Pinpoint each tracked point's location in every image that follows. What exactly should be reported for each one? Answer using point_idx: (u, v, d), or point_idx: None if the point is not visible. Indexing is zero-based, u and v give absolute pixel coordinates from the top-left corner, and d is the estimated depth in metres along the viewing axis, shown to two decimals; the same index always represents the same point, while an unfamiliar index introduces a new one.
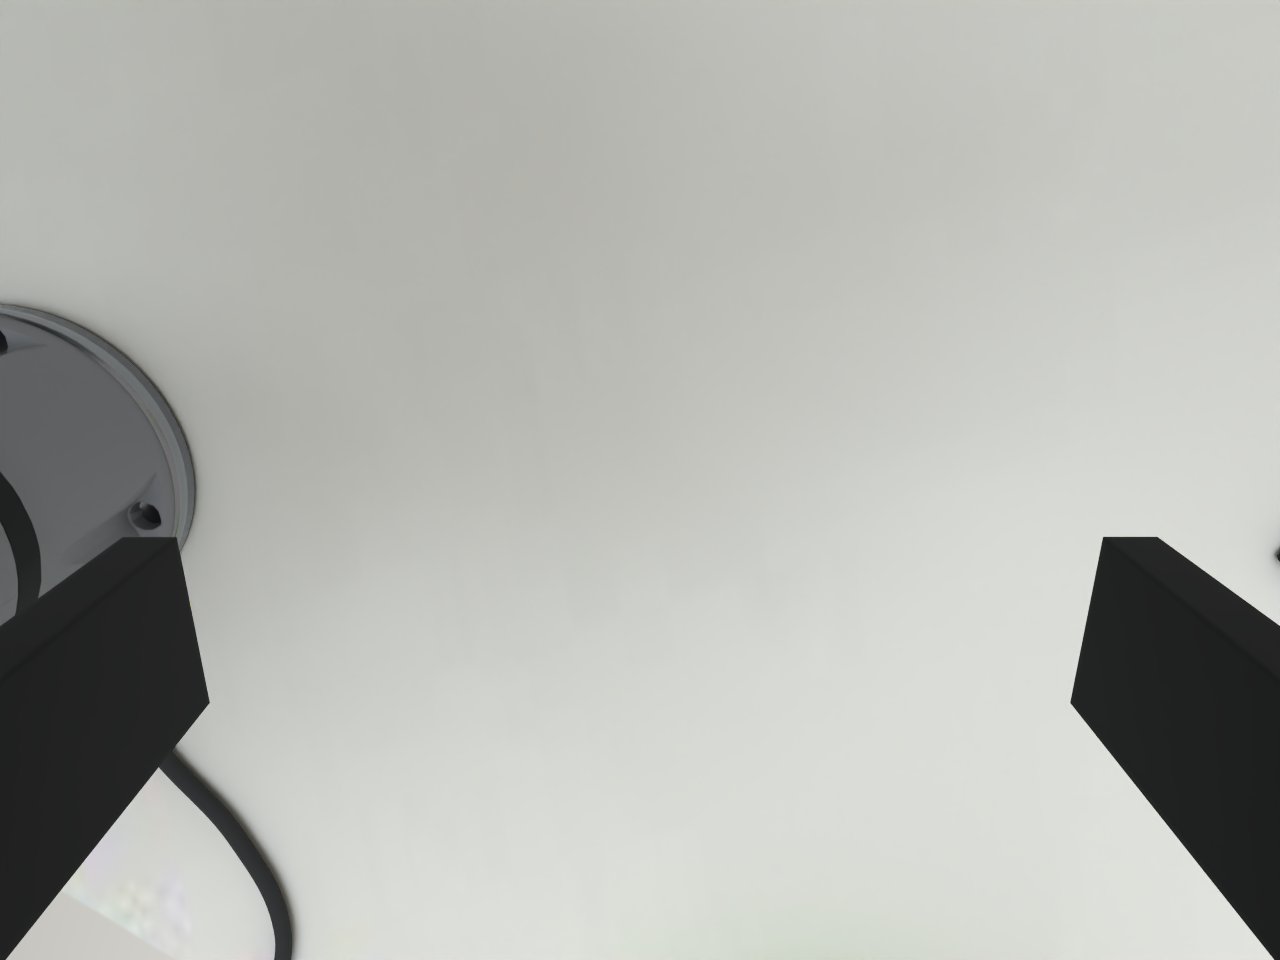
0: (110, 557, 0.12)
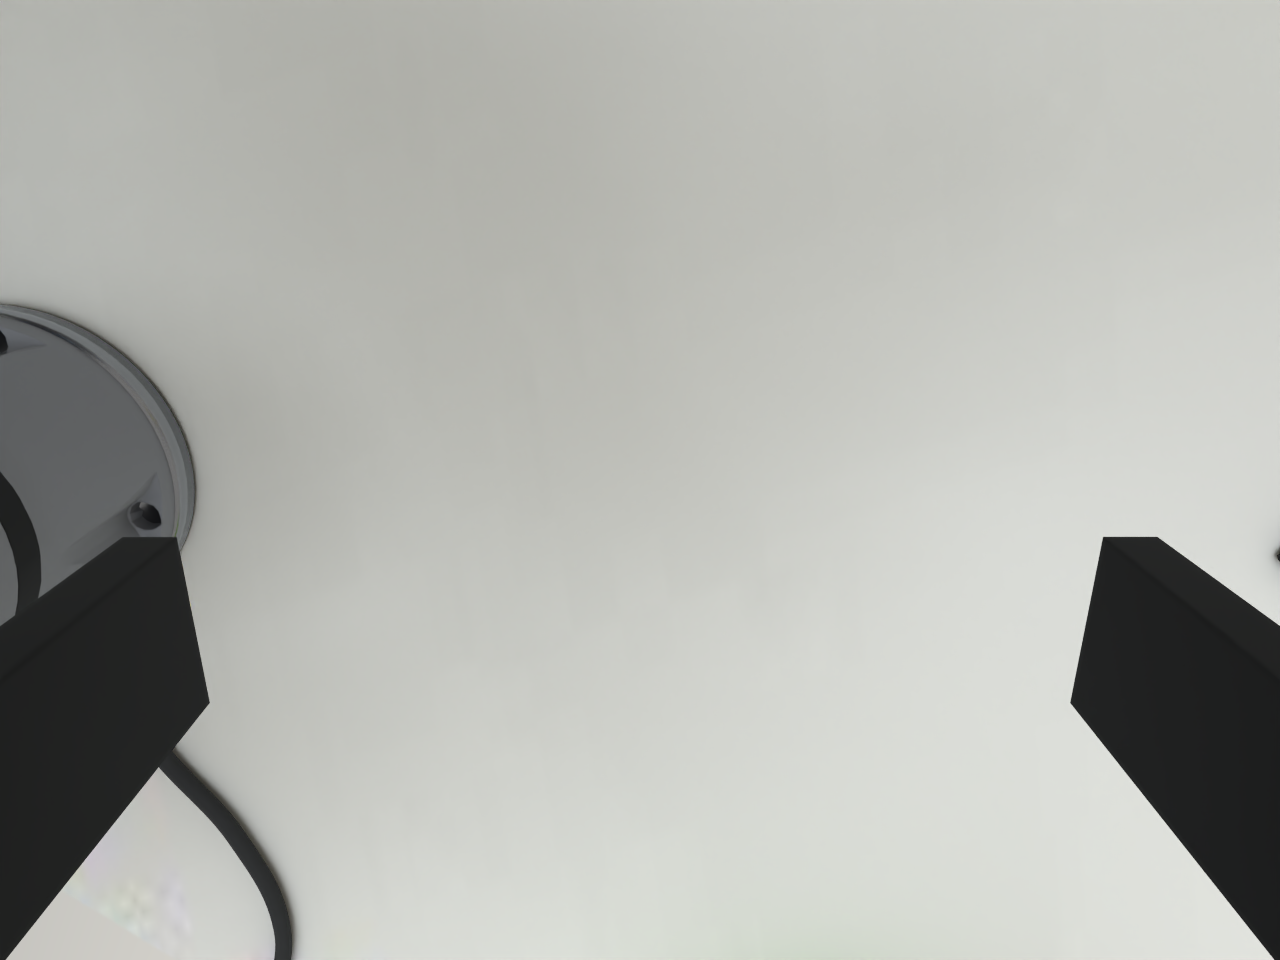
0: (110, 557, 0.12)
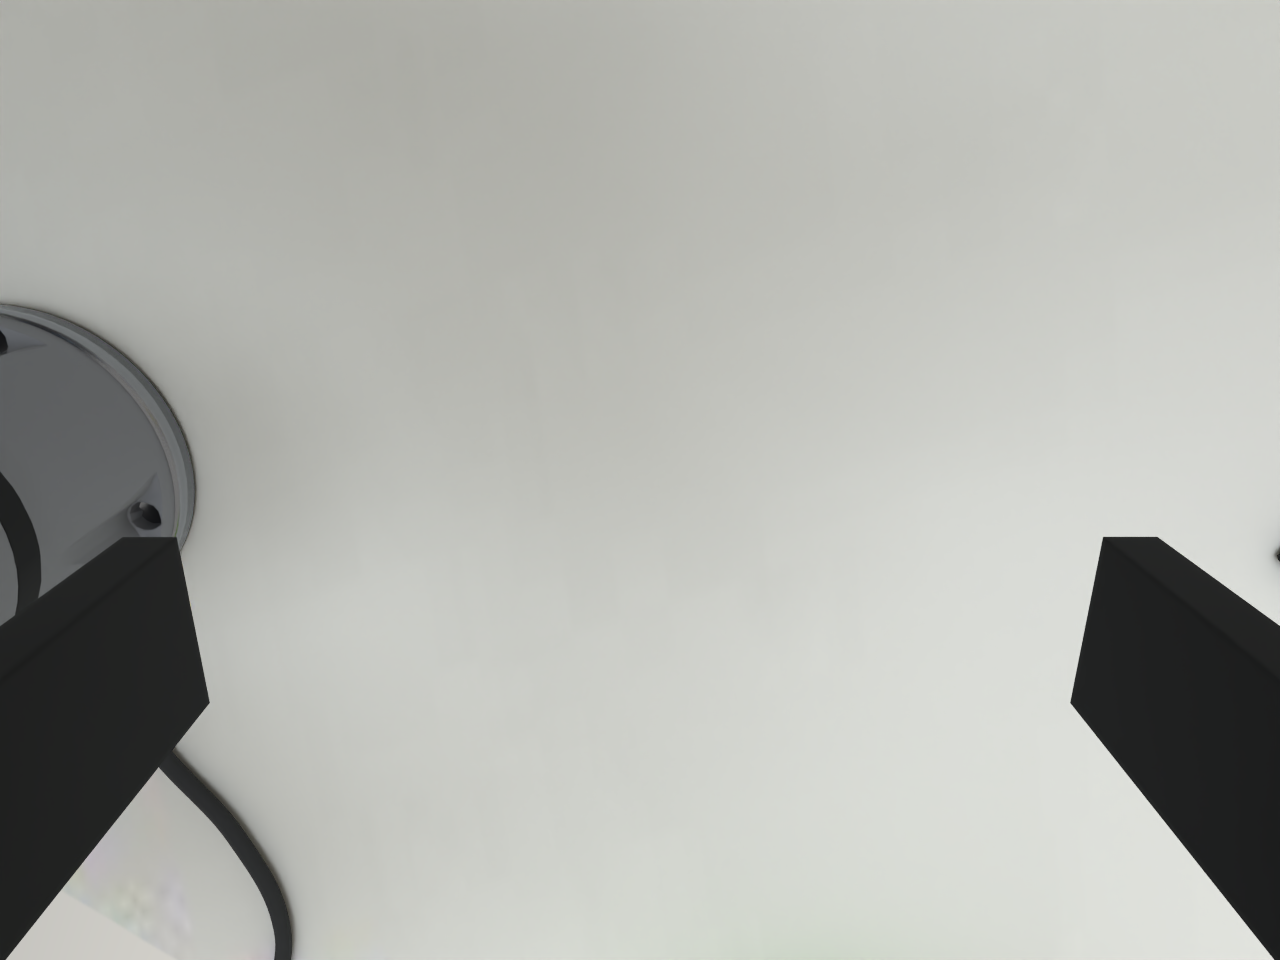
0: (110, 557, 0.12)
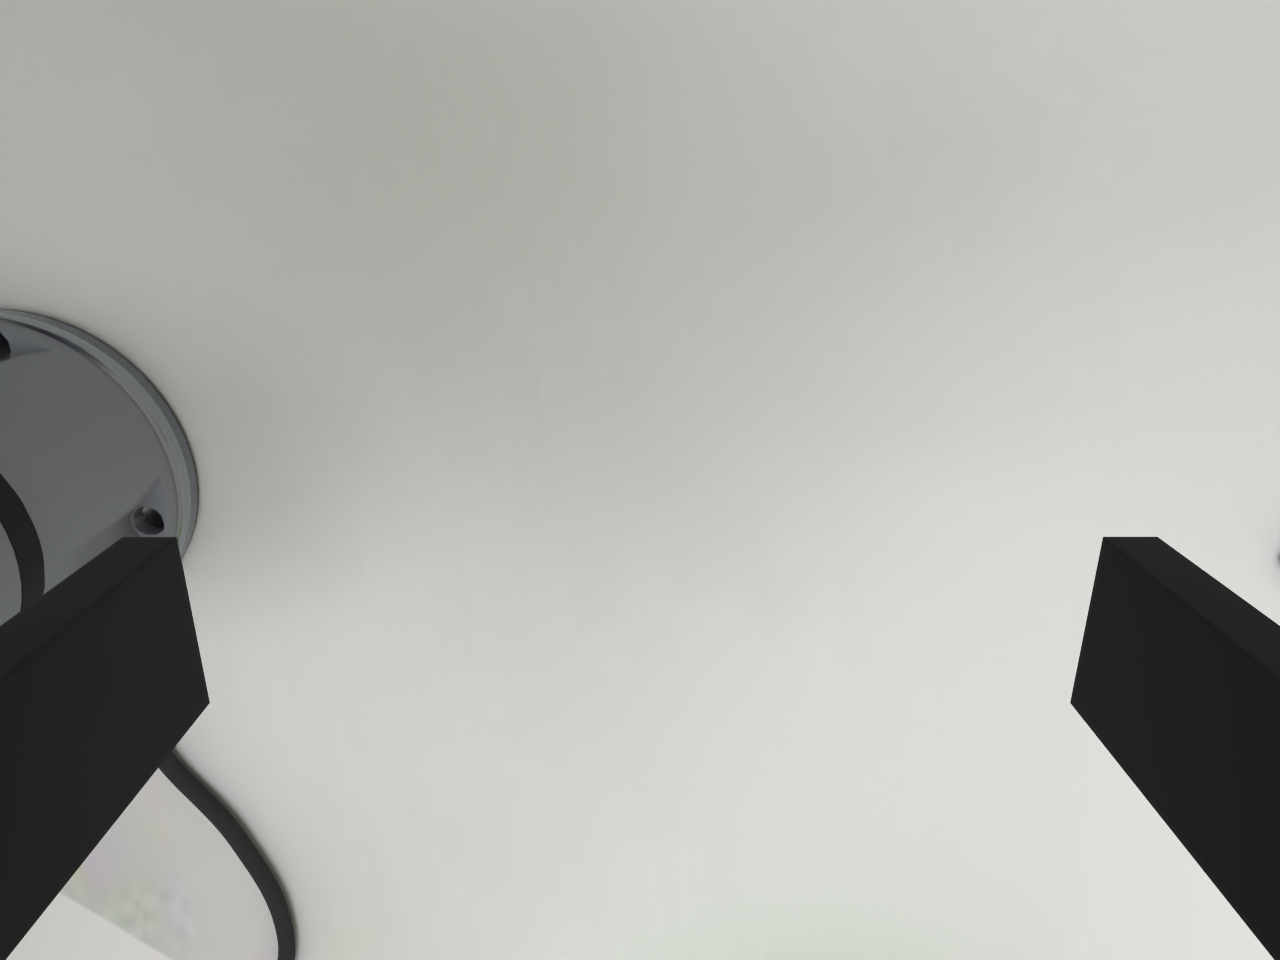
0: (110, 557, 0.12)
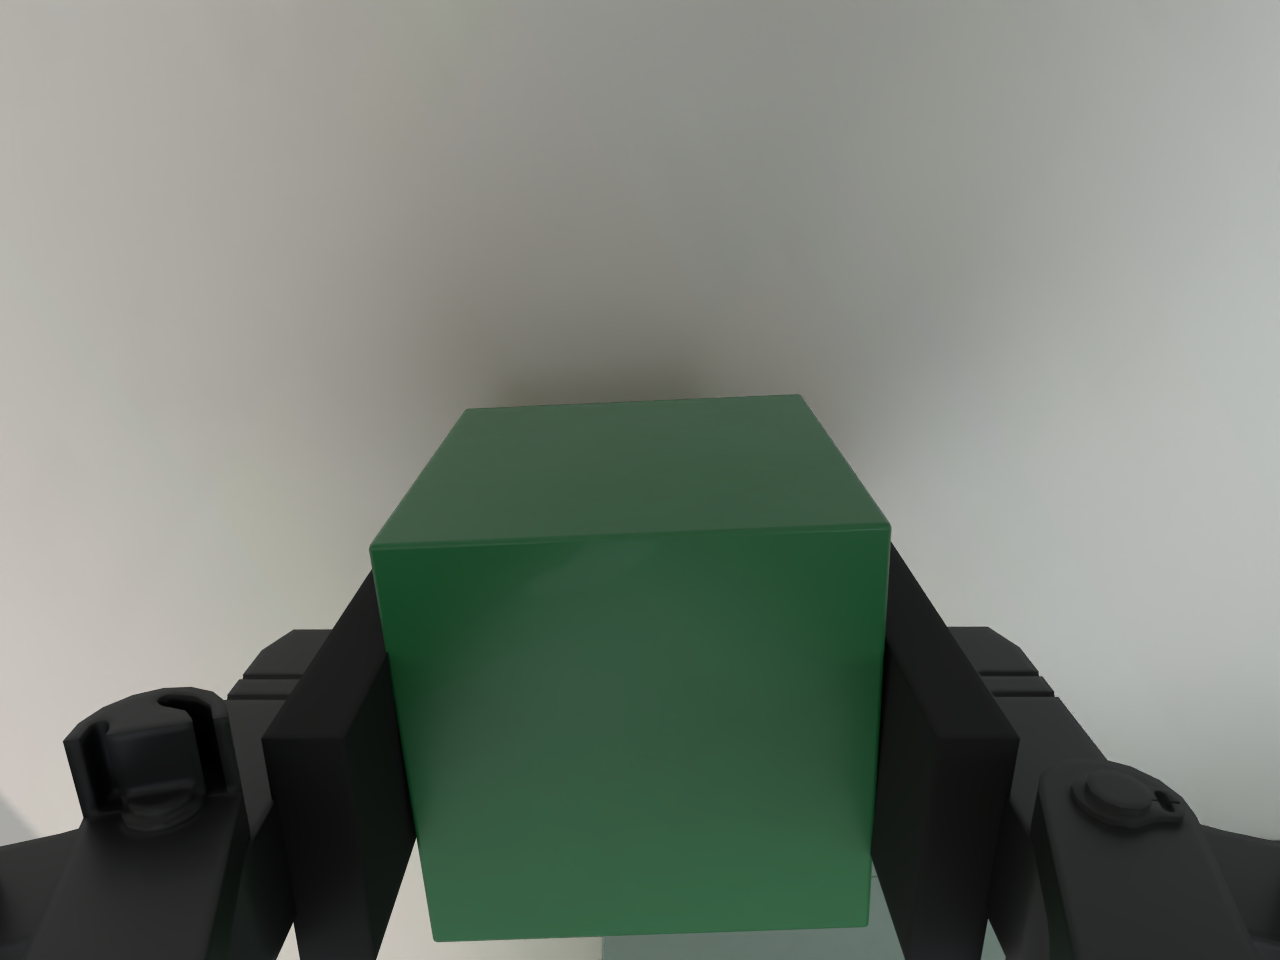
0: None
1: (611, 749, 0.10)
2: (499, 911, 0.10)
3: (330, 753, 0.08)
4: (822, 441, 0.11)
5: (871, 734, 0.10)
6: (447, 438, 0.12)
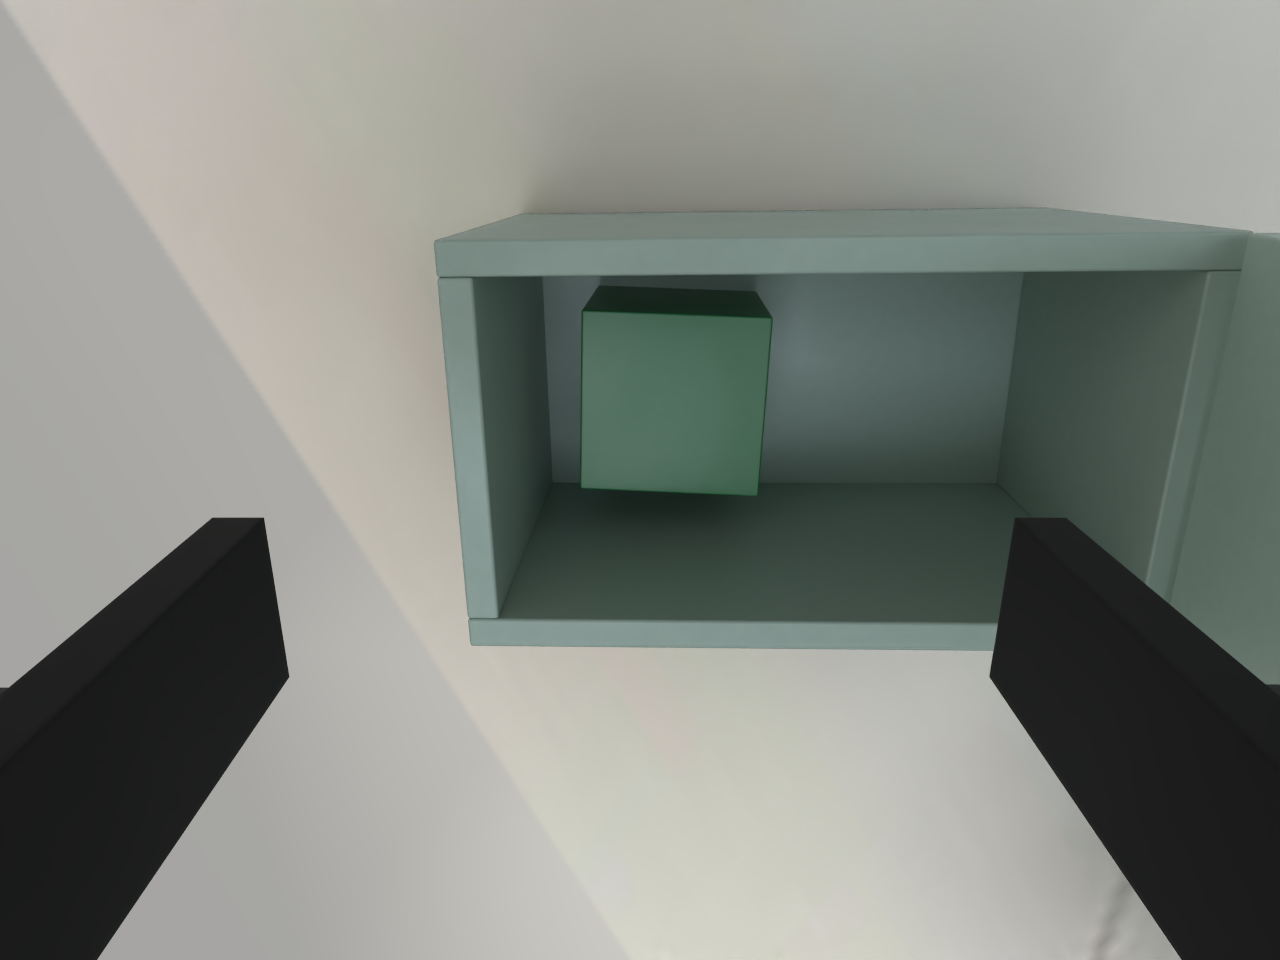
0: (205, 535, 0.12)
1: (661, 402, 0.25)
2: (608, 475, 0.26)
3: None
4: (758, 302, 0.27)
5: (762, 405, 0.25)
6: (595, 292, 0.28)
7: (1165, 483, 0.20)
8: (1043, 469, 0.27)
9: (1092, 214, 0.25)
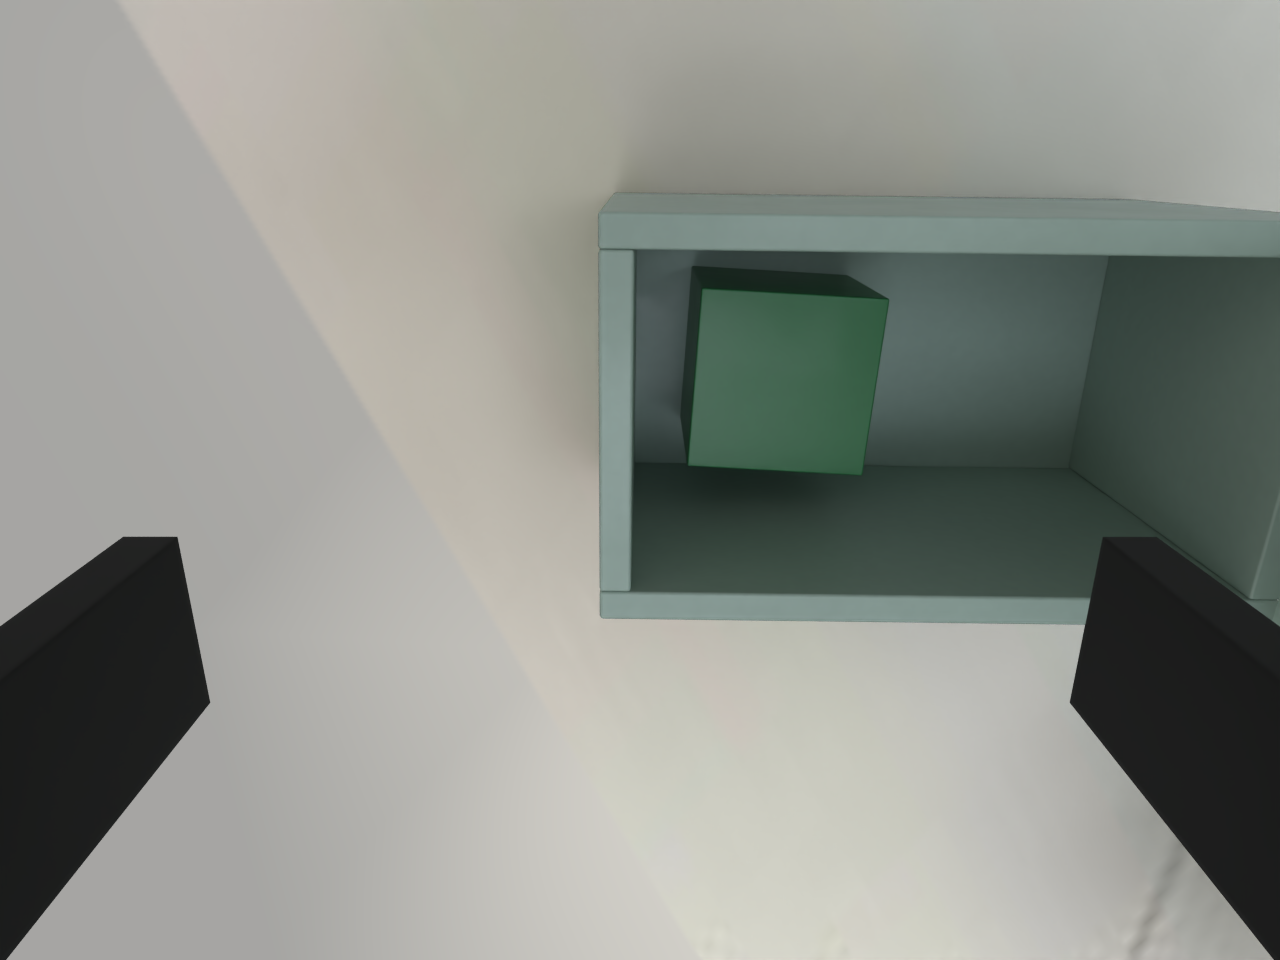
0: (111, 557, 0.12)
1: (774, 382, 0.25)
2: (716, 453, 0.26)
3: None
4: (861, 284, 0.27)
5: (872, 385, 0.25)
6: (696, 271, 0.28)
7: None
8: (1129, 453, 0.28)
9: (1193, 205, 0.25)
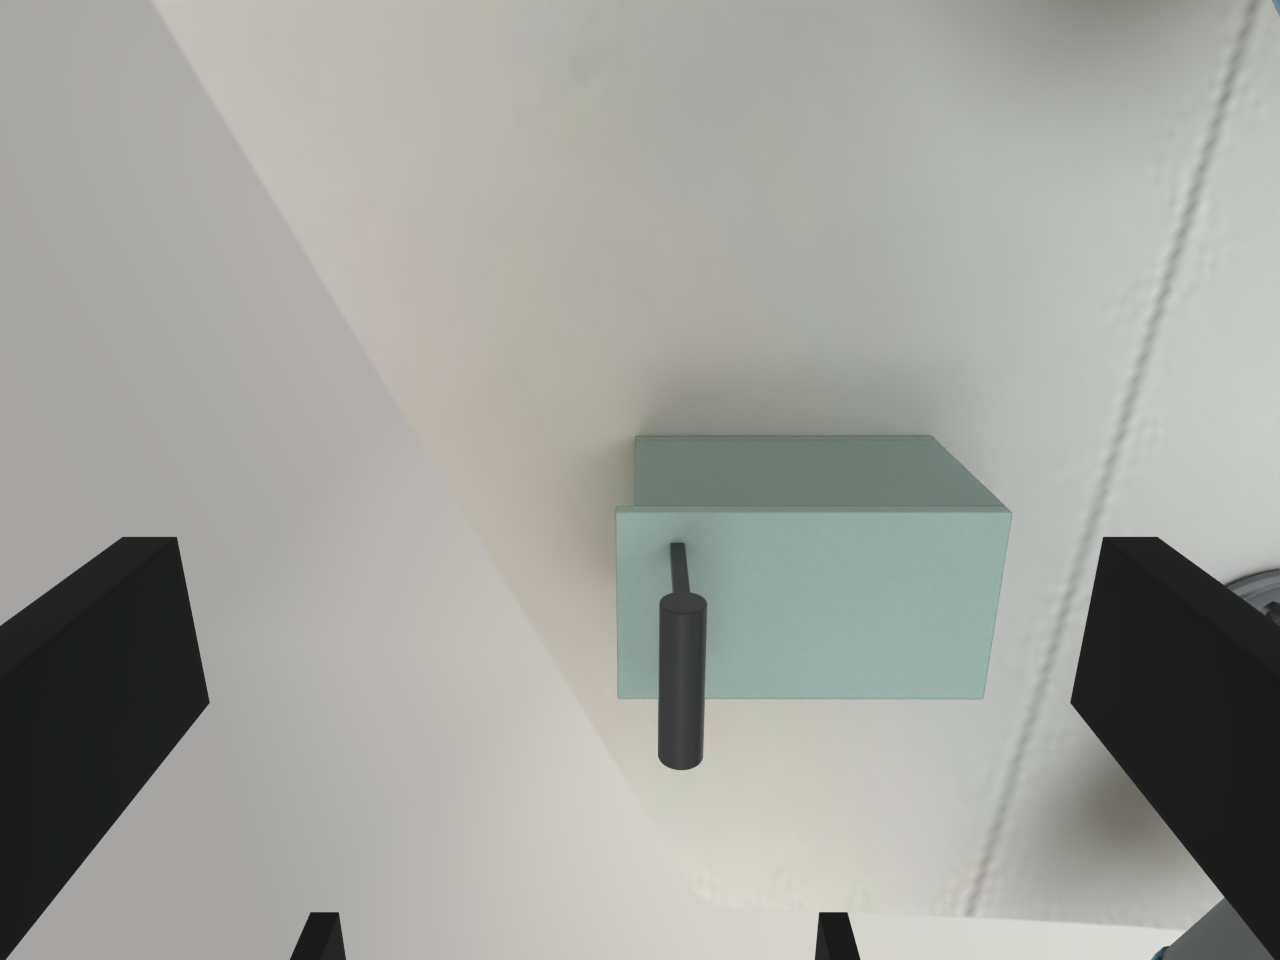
0: (110, 557, 0.12)
1: None
2: None
3: None
4: None
5: None
6: None
7: None
8: None
9: (949, 459, 0.47)
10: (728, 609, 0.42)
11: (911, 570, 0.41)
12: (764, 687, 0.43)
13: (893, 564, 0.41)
